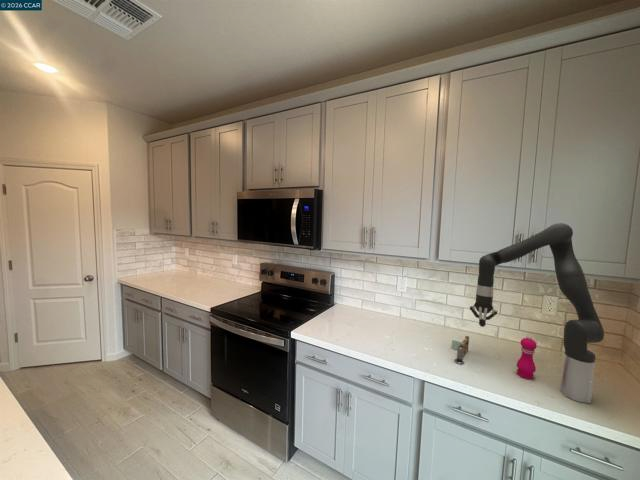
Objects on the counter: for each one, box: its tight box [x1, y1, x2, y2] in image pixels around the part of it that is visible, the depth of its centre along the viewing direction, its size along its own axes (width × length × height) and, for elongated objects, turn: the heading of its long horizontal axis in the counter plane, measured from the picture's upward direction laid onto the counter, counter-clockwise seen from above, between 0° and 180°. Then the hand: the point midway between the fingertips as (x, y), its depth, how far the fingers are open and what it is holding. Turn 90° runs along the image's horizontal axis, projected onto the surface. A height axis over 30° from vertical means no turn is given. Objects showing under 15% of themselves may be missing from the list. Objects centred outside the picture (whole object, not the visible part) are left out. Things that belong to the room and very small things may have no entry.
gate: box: [460, 335, 470, 360], centre depth 146 cm, size 14×2×8 cm, turn 140°
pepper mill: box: [516, 334, 537, 380], centre depth 128 cm, size 7×7×20 cm
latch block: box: [451, 337, 464, 350], centre depth 153 cm, size 6×3×5 cm, turn 52°
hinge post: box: [454, 346, 465, 366], centre depth 139 cm, size 4×4×8 cm
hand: (481, 326), depth 142 cm, fingers closed
